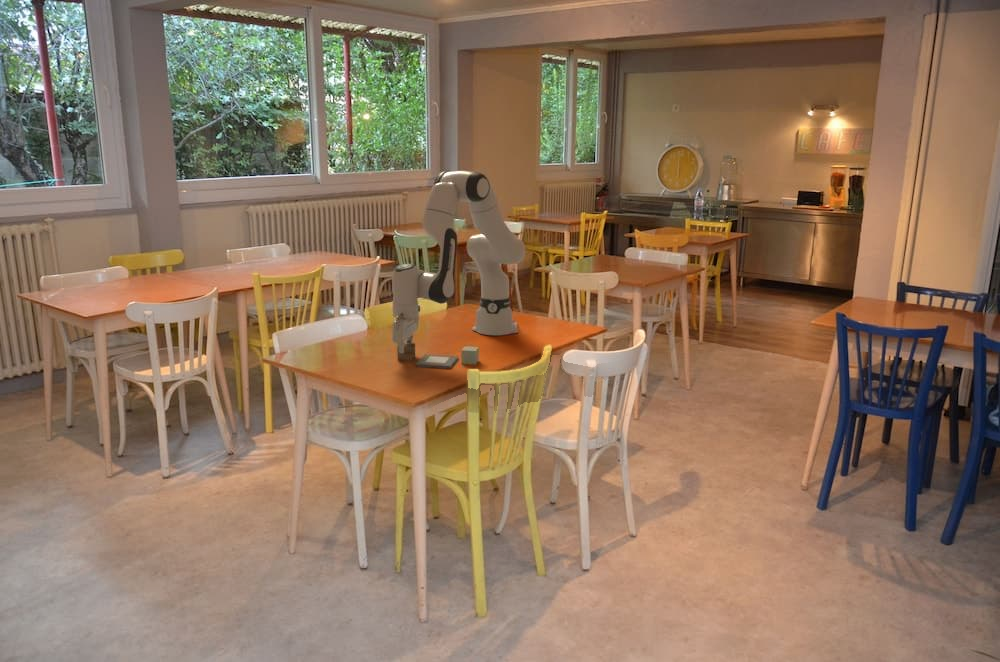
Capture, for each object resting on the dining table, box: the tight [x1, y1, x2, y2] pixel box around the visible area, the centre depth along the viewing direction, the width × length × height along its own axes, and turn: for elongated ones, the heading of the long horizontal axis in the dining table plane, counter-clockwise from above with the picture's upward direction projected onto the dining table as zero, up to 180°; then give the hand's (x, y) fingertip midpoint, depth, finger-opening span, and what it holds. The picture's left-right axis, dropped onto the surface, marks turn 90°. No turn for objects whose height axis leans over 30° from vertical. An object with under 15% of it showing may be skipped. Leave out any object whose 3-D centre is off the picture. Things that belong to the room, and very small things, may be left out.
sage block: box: [461, 346, 480, 365], centre depth 273 cm, size 5×5×5 cm
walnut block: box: [396, 342, 416, 362], centre depth 276 cm, size 5×5×5 cm
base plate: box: [415, 353, 459, 369], centre depth 272 cm, size 12×12×1 cm
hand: (405, 349), depth 276 cm, fingers open, 8 cm apart
